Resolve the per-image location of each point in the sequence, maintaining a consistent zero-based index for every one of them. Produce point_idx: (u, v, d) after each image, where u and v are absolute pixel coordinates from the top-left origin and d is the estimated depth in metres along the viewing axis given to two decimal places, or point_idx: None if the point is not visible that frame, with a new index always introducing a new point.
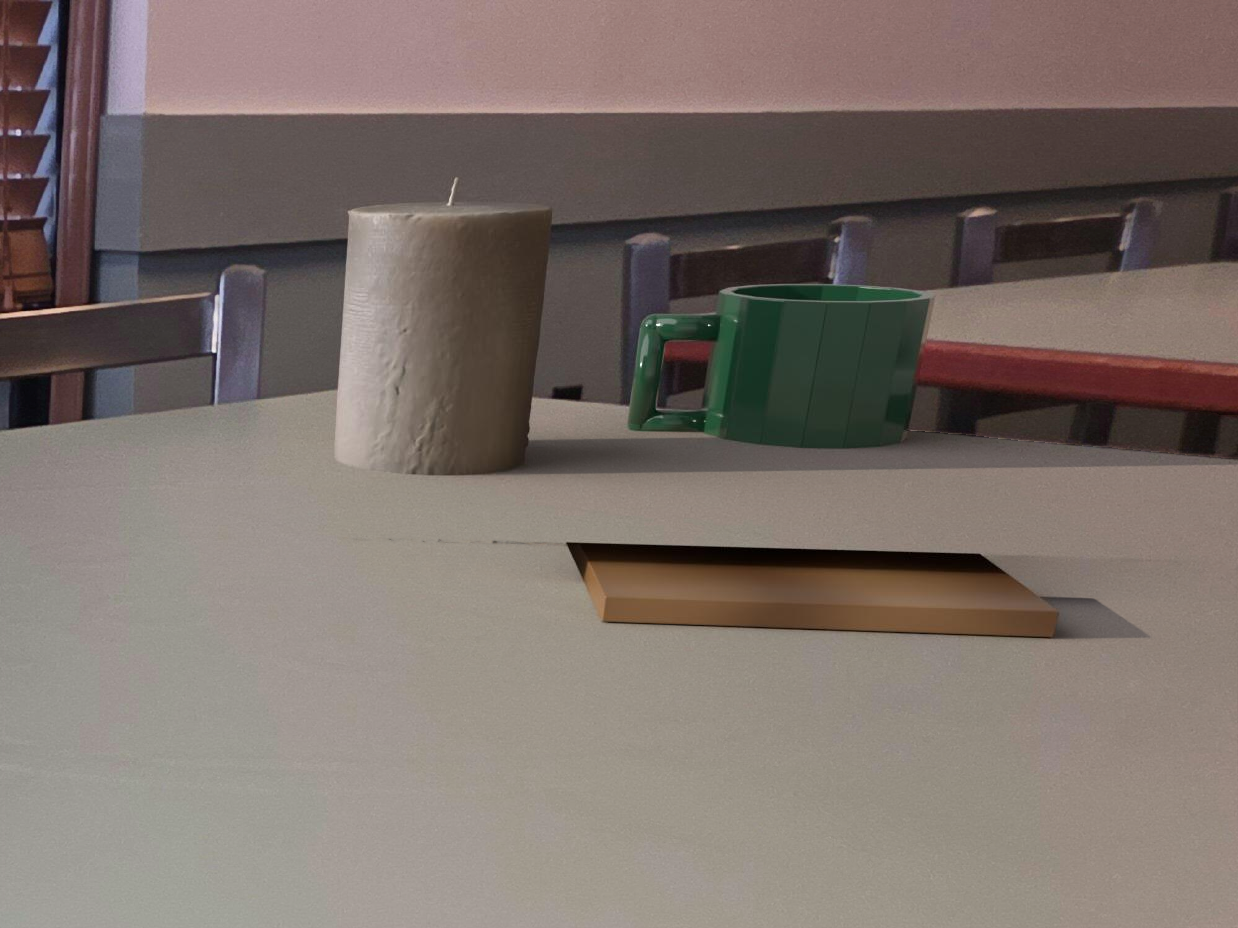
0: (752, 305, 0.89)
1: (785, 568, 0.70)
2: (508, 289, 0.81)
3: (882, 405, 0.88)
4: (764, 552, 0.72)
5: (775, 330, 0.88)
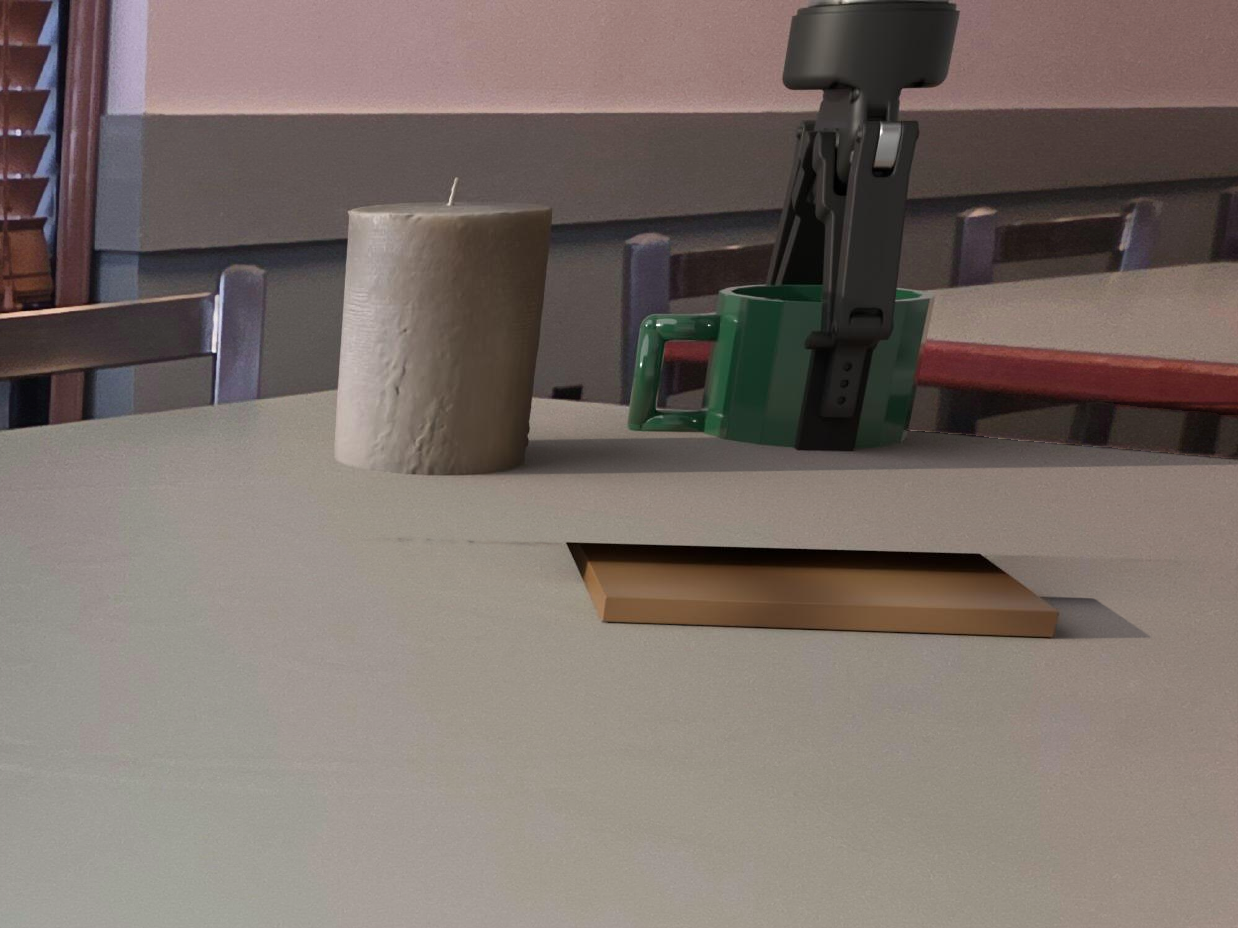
0: (752, 305, 0.89)
1: (785, 568, 0.70)
2: (508, 289, 0.81)
3: (882, 405, 0.88)
4: (764, 552, 0.72)
5: (775, 330, 0.88)
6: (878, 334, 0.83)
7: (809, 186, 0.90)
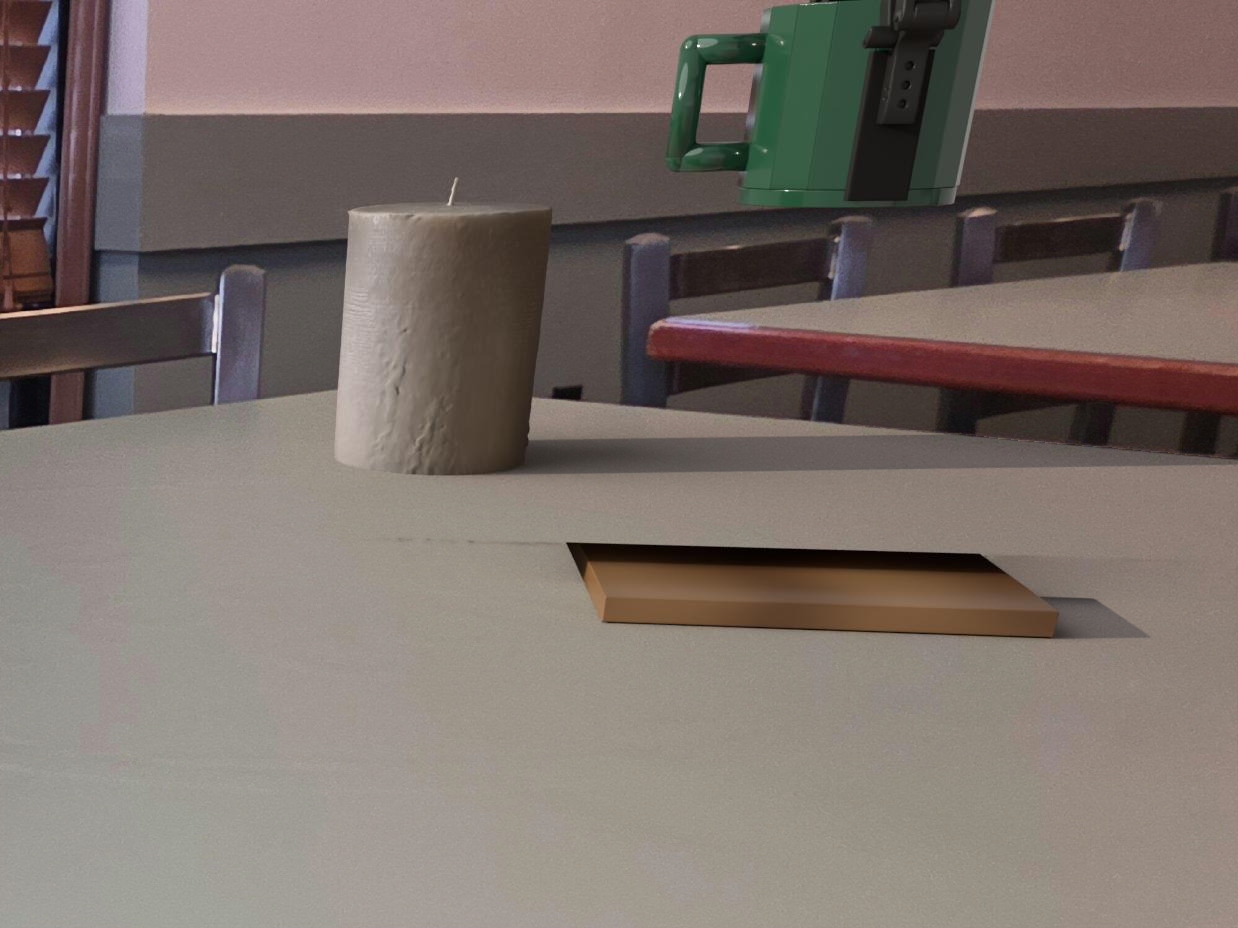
0: (802, 11, 0.83)
1: (785, 568, 0.70)
2: (508, 289, 0.81)
3: (942, 116, 0.83)
4: (764, 552, 0.72)
5: (828, 36, 0.82)
6: (945, 21, 0.78)
7: None
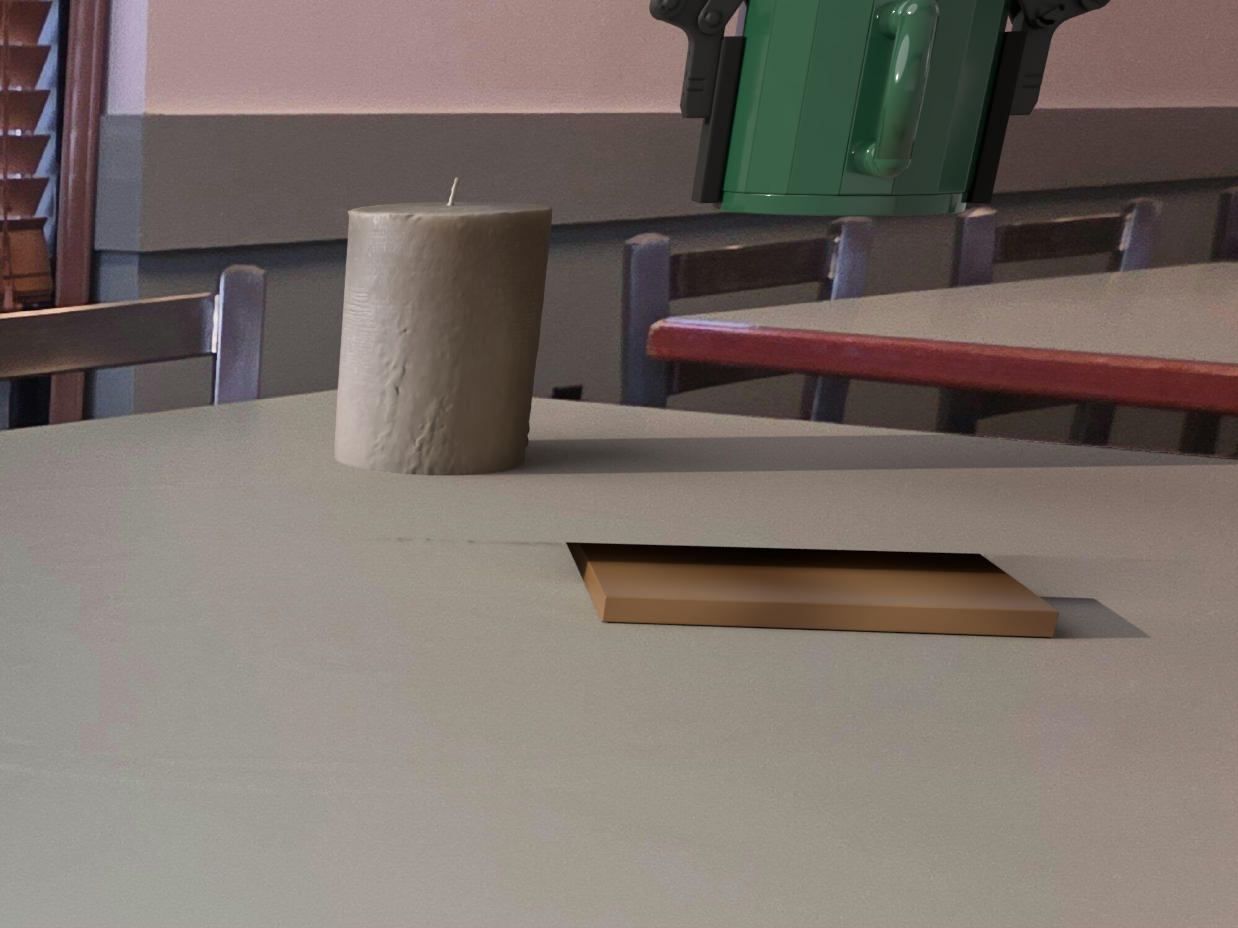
0: None
1: (785, 568, 0.70)
2: (508, 289, 0.81)
3: None
4: (764, 552, 0.72)
5: (999, 10, 0.69)
6: None
7: None
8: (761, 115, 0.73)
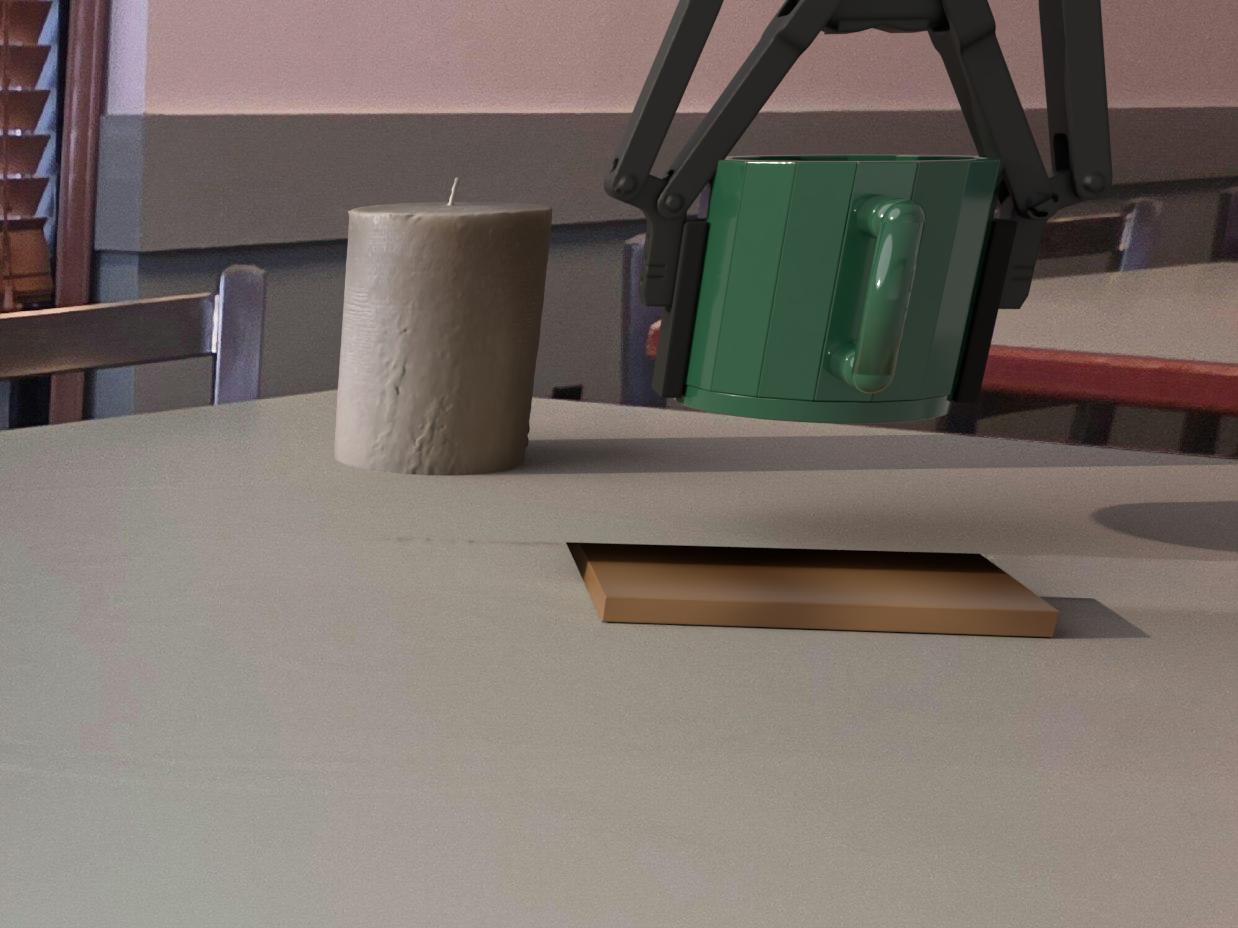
0: (971, 171, 0.62)
1: (785, 568, 0.70)
2: (508, 289, 0.81)
3: None
4: (764, 552, 0.72)
5: (987, 203, 0.63)
6: None
7: None
8: (727, 310, 0.66)
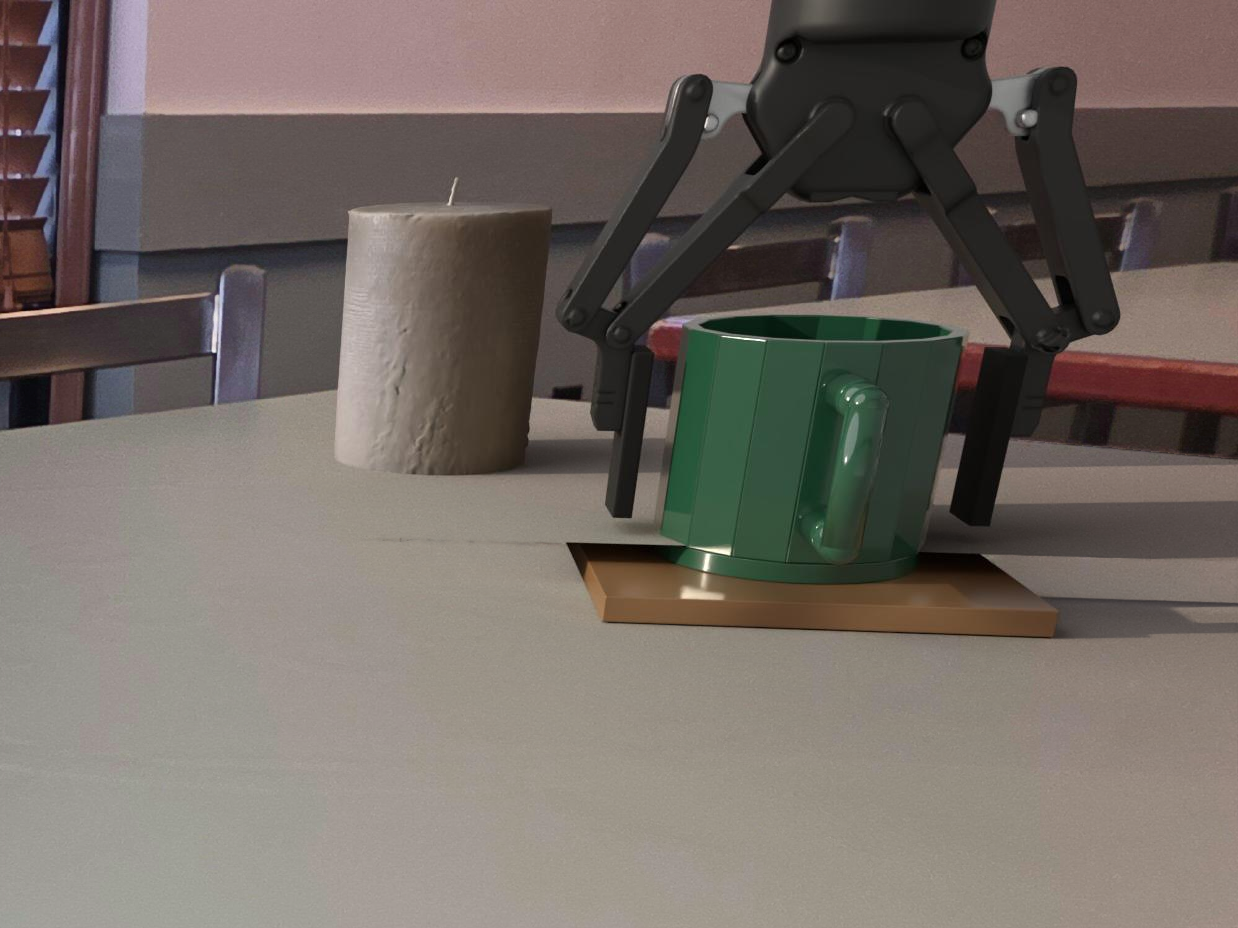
0: (935, 350, 0.64)
1: None
2: (508, 289, 0.81)
3: None
4: None
5: (951, 377, 0.65)
6: None
7: None
8: (703, 473, 0.69)
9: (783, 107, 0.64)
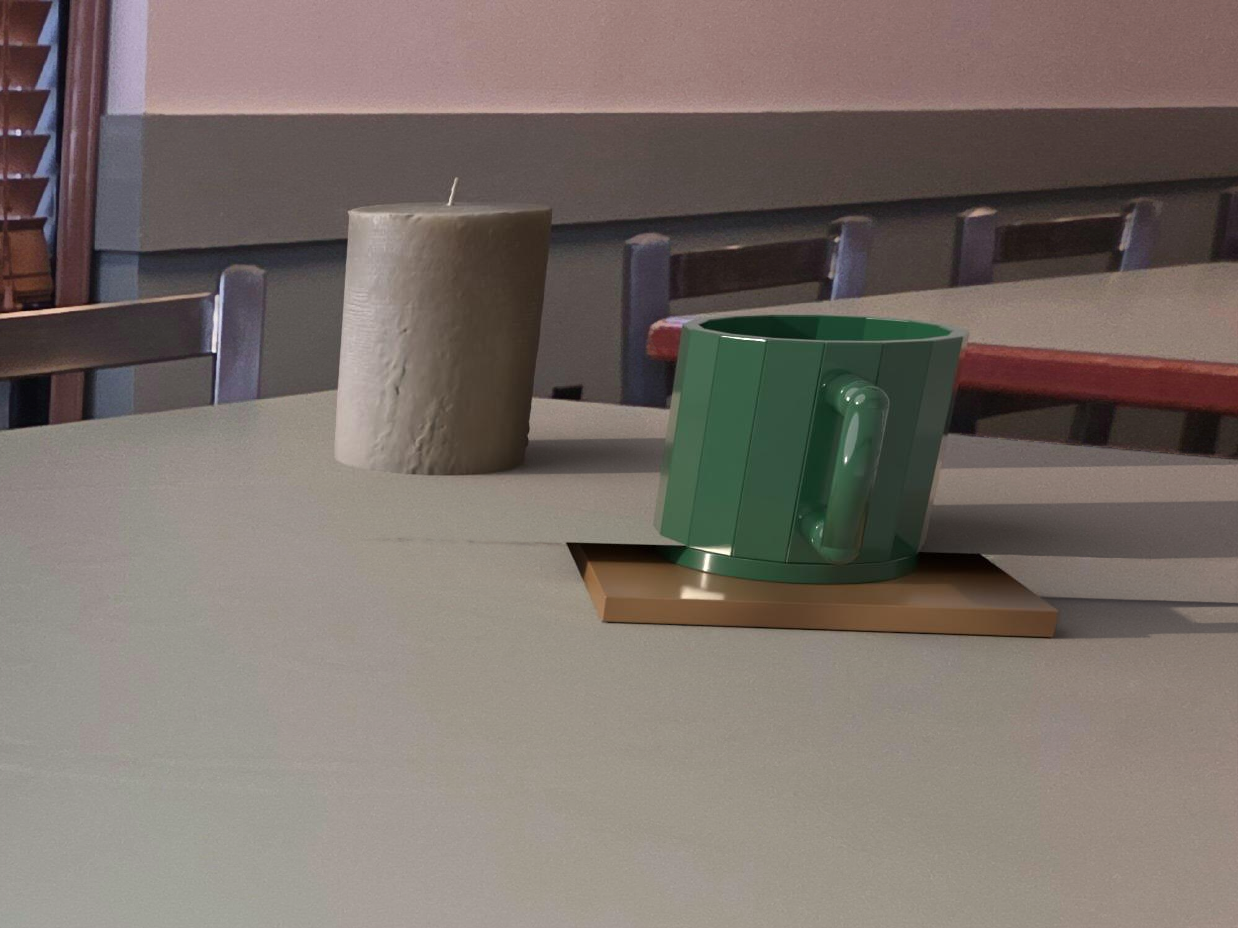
0: (935, 350, 0.64)
1: None
2: (508, 289, 0.81)
3: None
4: None
5: (951, 377, 0.65)
6: None
7: None
8: (703, 473, 0.69)
9: None
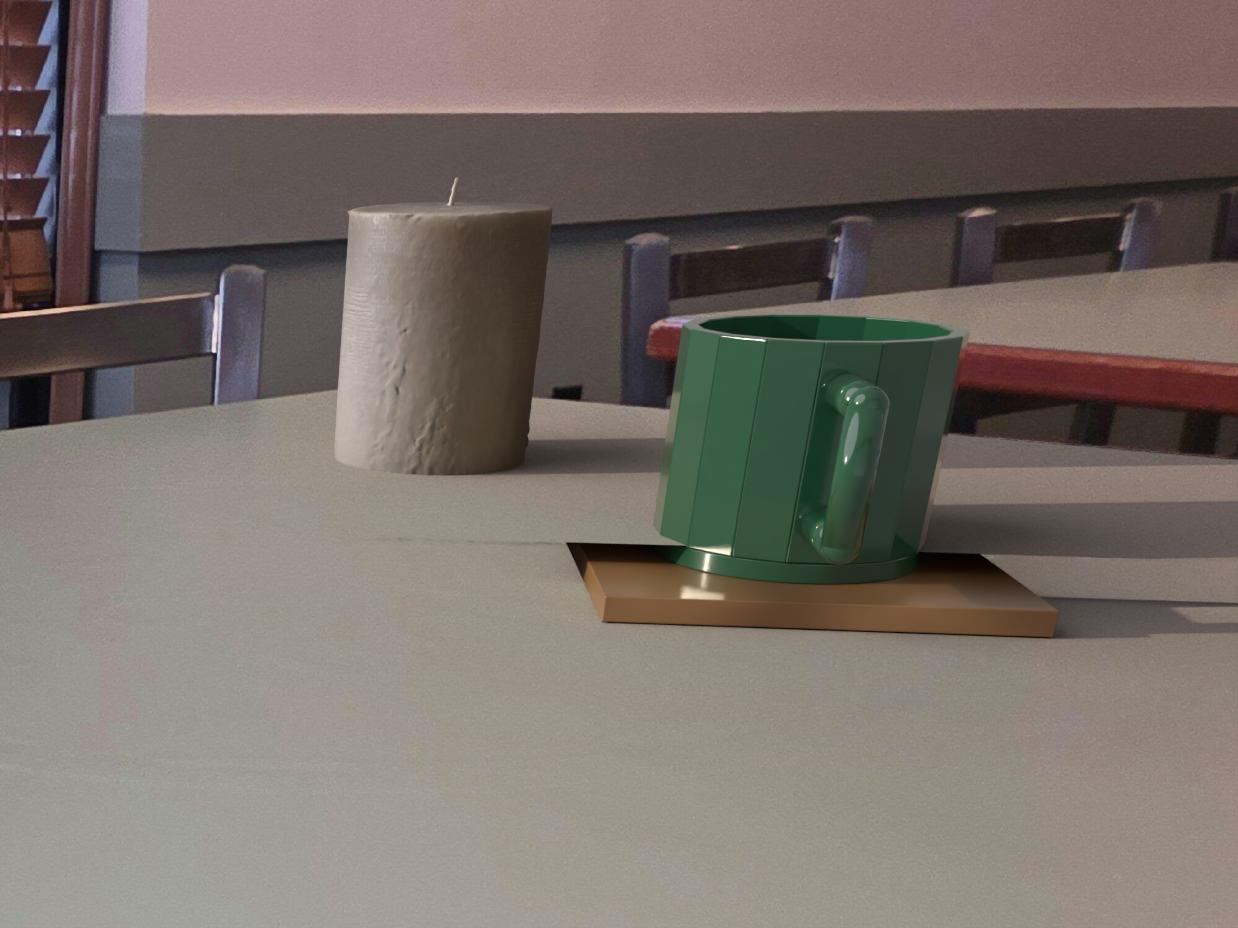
0: (935, 350, 0.64)
1: None
2: (508, 289, 0.81)
3: None
4: None
5: (951, 377, 0.65)
6: None
7: None
8: (703, 473, 0.69)
9: None
